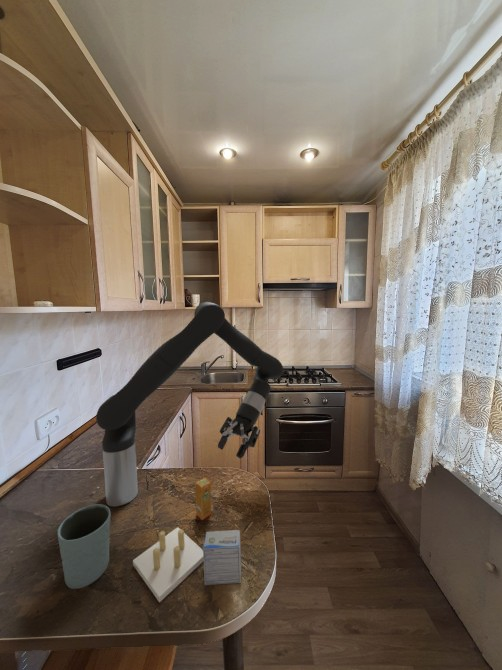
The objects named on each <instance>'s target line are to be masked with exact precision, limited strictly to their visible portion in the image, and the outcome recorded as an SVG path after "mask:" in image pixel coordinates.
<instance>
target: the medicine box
mask: <svg viewBox="0 0 502 670" xmlns="http://www.w3.org/2000/svg"><path fill="white" fill-rule="evenodd" d="M202 546H203V547H202V550H203V559H204V561H203V575H204V580H203V581H204V586H215V585H226V584H227V585H228V584H241V583H242V553H241V551H242V550H241V549H242V545H241V531H240V529H235V530H234V529H232V530H215V531H206V532H205V536H204V542H203V545H202Z"/></svg>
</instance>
